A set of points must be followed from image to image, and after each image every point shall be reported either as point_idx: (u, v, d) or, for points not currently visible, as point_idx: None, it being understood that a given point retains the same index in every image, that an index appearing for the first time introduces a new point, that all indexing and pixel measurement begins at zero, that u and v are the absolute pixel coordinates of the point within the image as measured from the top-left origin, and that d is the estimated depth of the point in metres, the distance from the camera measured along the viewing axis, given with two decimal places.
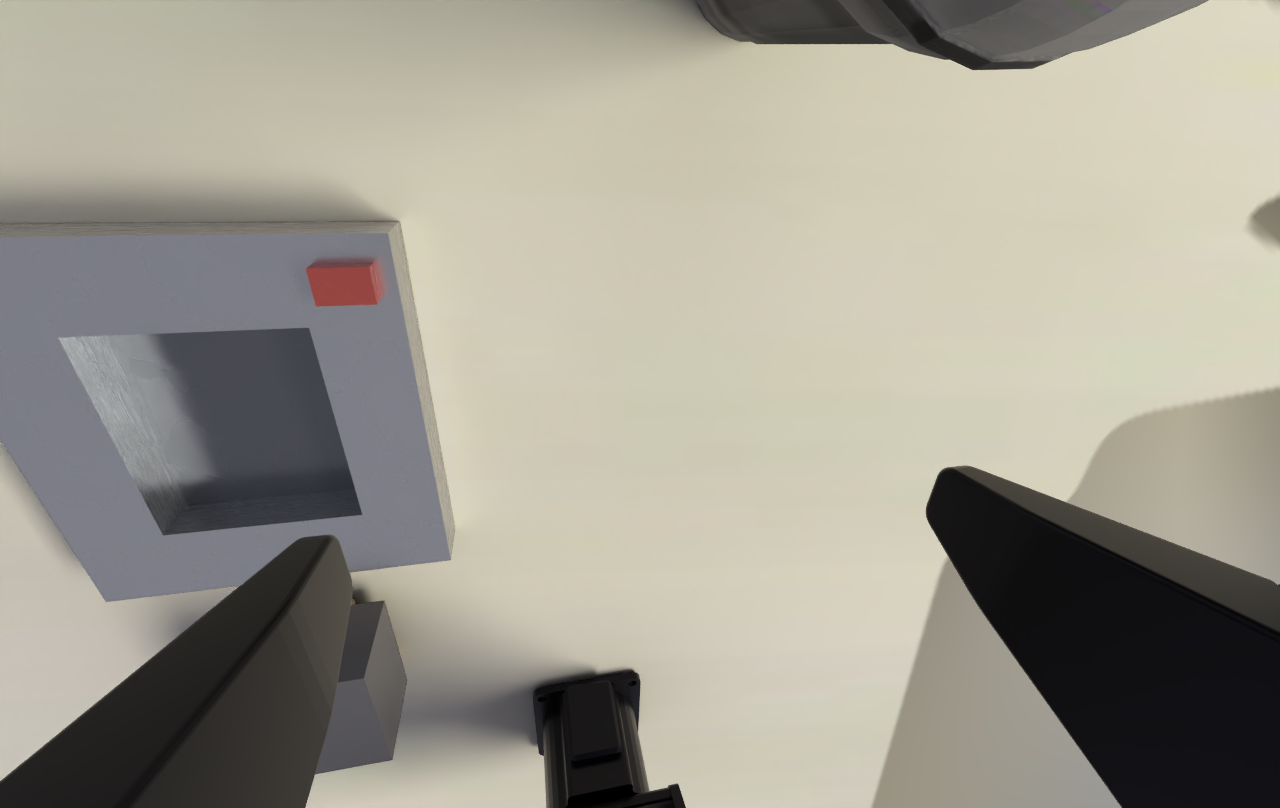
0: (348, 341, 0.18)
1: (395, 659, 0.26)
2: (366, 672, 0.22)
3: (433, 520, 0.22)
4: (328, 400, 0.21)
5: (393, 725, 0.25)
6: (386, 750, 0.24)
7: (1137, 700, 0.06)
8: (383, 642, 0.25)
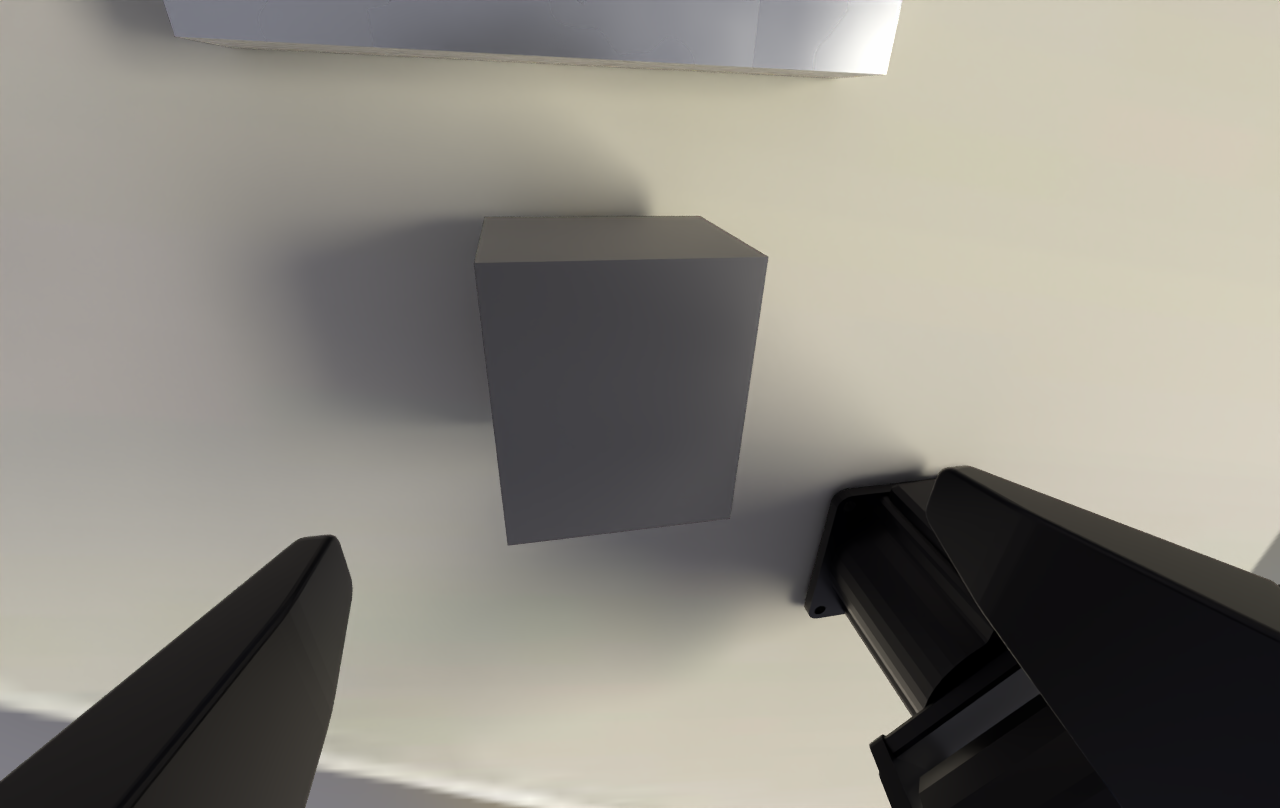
0: None
1: None
2: (760, 256, 0.10)
3: None
4: None
5: None
6: (729, 491, 0.12)
7: (1137, 700, 0.06)
8: None
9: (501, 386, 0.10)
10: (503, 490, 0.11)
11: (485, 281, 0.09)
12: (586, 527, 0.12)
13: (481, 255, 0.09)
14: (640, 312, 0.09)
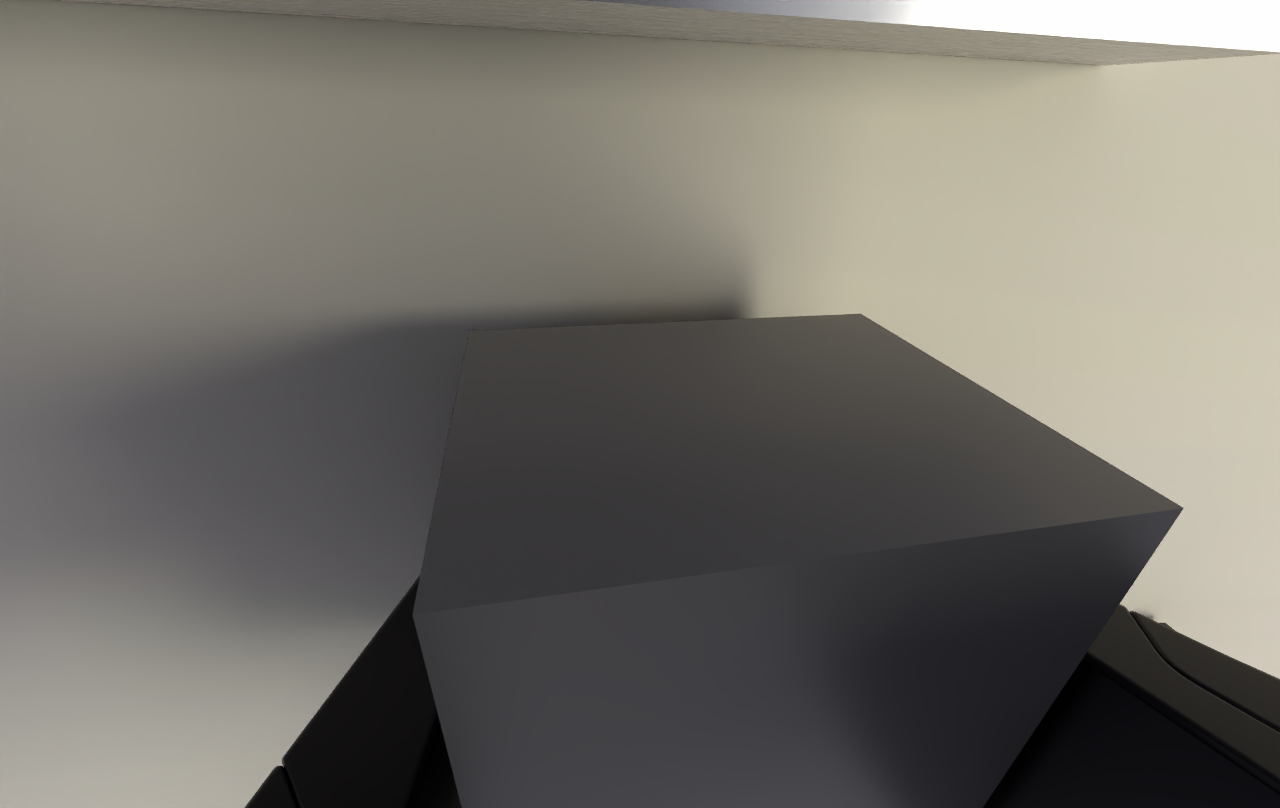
0: None
1: None
2: (1131, 488, 0.04)
3: None
4: None
5: None
6: None
7: None
8: None
9: None
10: None
11: (450, 650, 0.03)
12: None
13: (442, 545, 0.03)
14: (854, 647, 0.04)
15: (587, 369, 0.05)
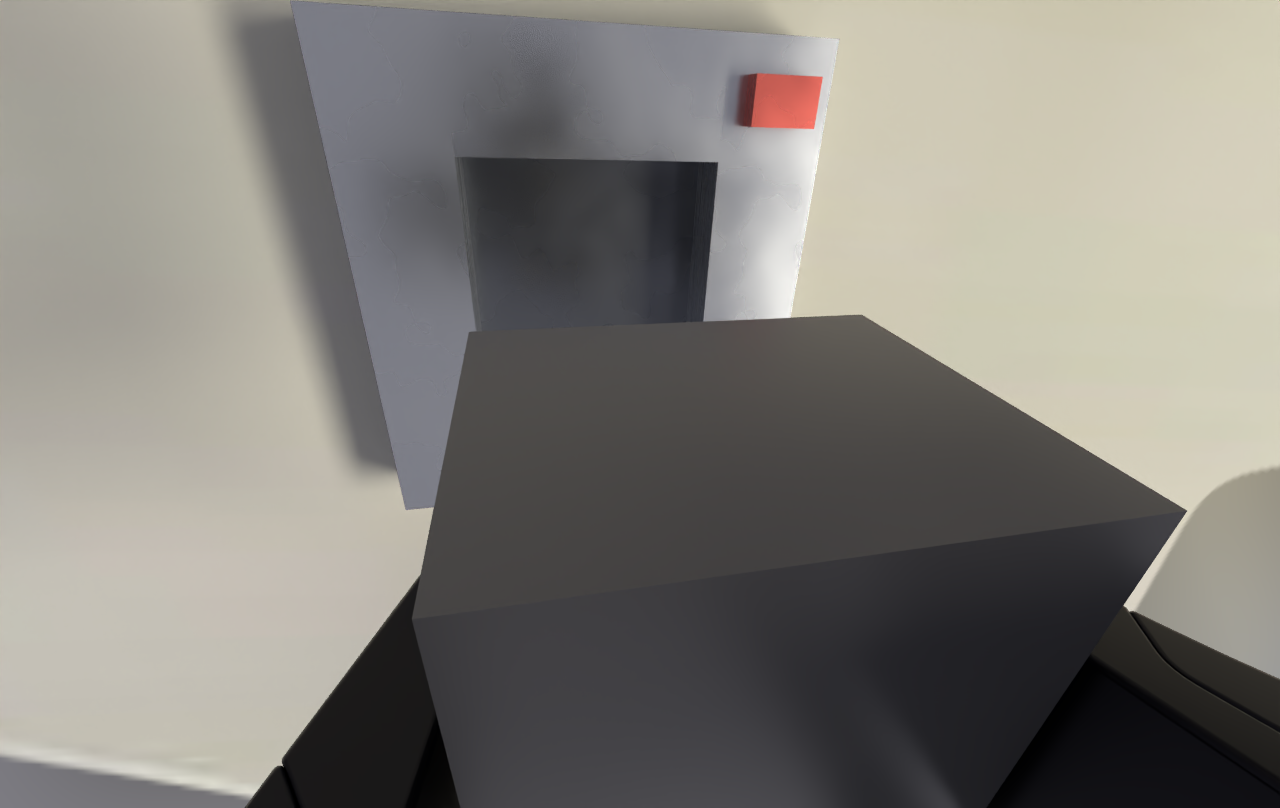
0: (752, 183, 0.15)
1: None
2: (1135, 491, 0.04)
3: None
4: (668, 275, 0.18)
5: None
6: None
7: None
8: None
9: None
10: None
11: (450, 655, 0.03)
12: None
13: (442, 549, 0.03)
14: (857, 652, 0.04)
15: (587, 370, 0.05)
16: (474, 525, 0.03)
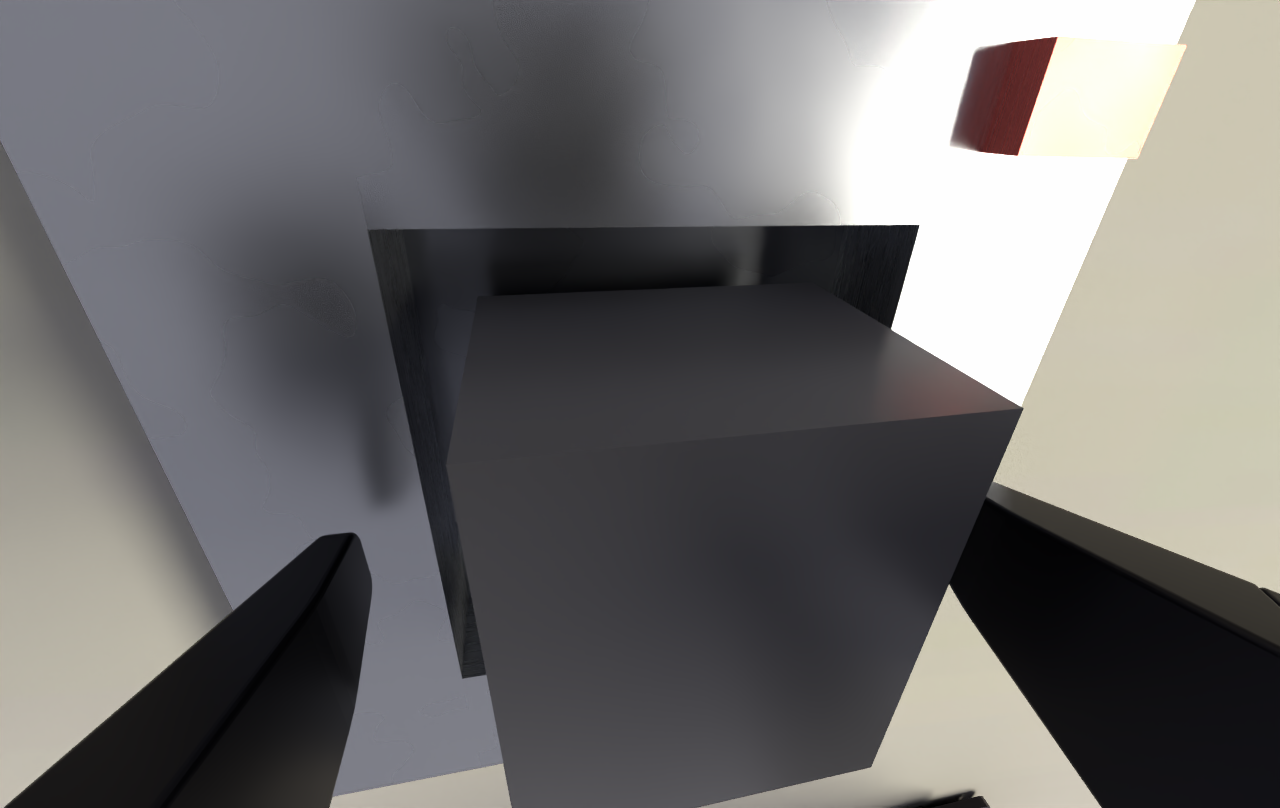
0: (975, 263, 0.08)
1: None
2: (993, 398, 0.05)
3: None
4: None
5: None
6: (877, 737, 0.07)
7: (1119, 704, 0.06)
8: None
9: (505, 654, 0.05)
10: (512, 788, 0.06)
11: (471, 495, 0.04)
12: None
13: (464, 429, 0.04)
14: (774, 517, 0.05)
15: (575, 323, 0.07)
16: (486, 416, 0.05)
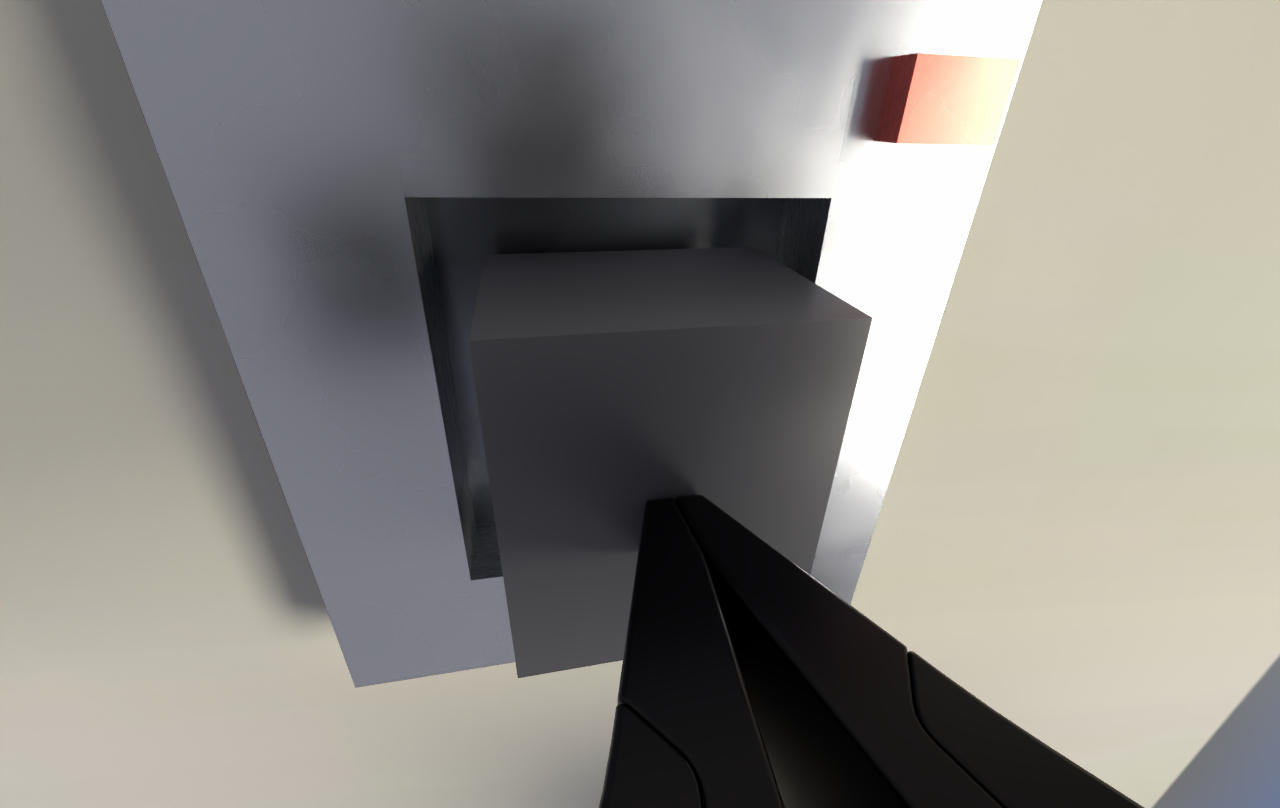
0: (879, 230, 0.10)
1: None
2: (857, 315, 0.07)
3: (855, 549, 0.14)
4: None
5: None
6: None
7: (778, 779, 0.05)
8: None
9: (507, 496, 0.07)
10: (512, 617, 0.08)
11: (485, 364, 0.06)
12: (618, 651, 0.09)
13: (479, 325, 0.06)
14: (697, 395, 0.07)
15: (560, 270, 0.09)
16: (494, 318, 0.07)
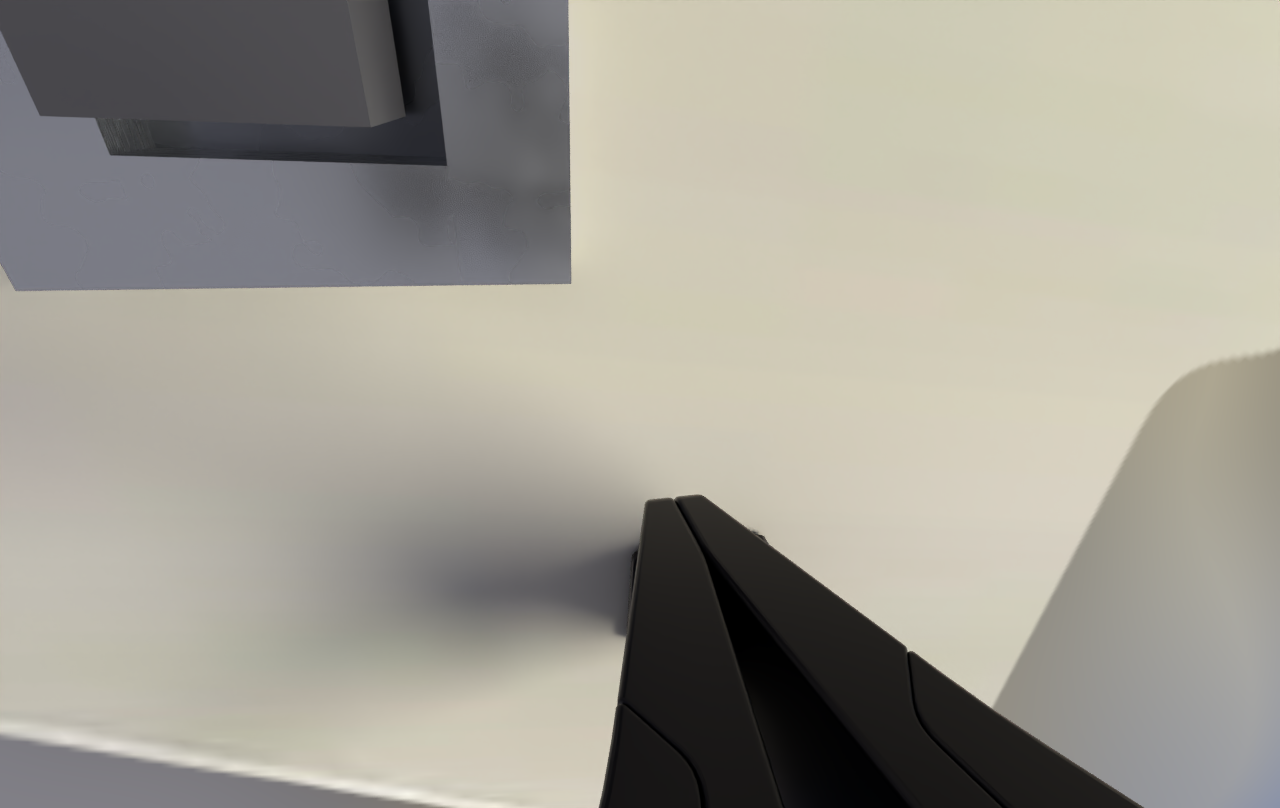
0: None
1: None
2: None
3: (555, 197, 0.14)
4: None
5: (373, 76, 0.10)
6: (354, 75, 0.09)
7: (778, 779, 0.05)
8: None
9: None
10: None
11: None
12: (153, 103, 0.09)
13: None
14: None
15: None
16: None
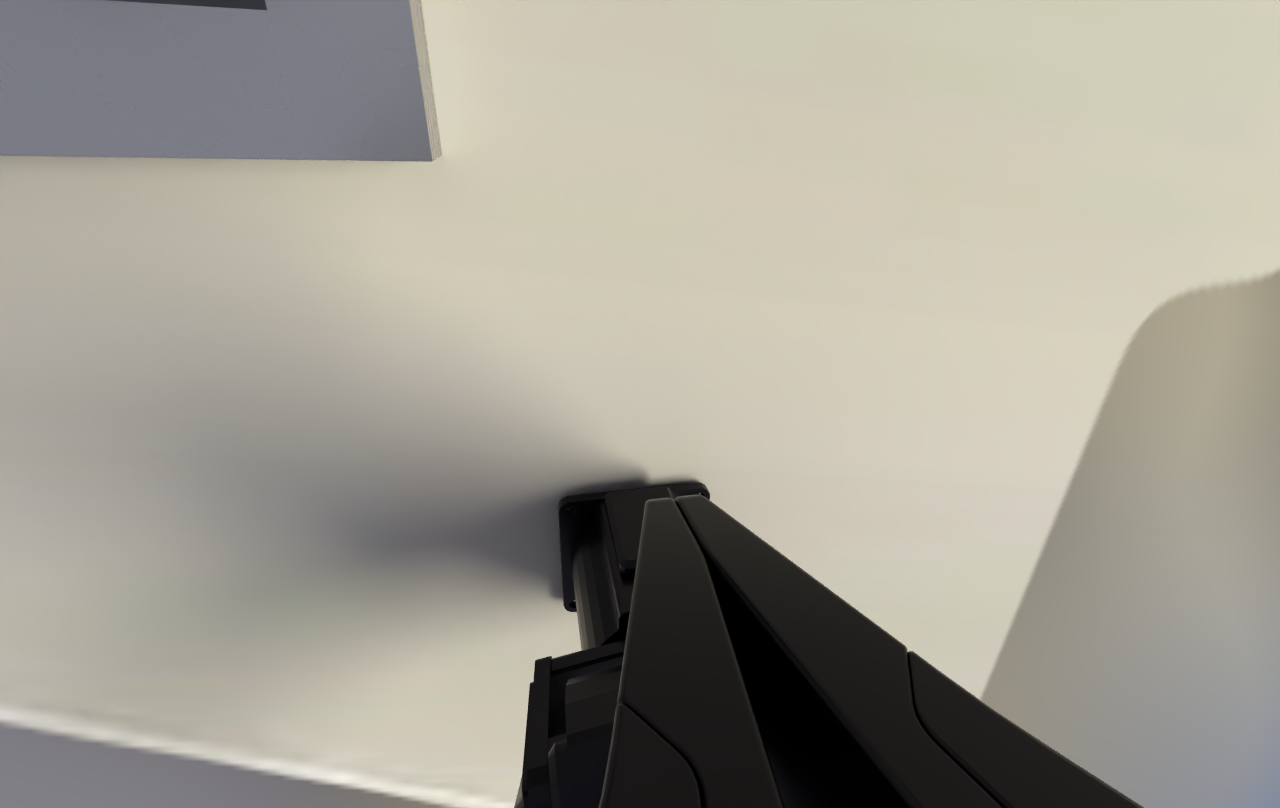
0: None
1: None
2: None
3: (399, 53, 0.13)
4: None
5: None
6: None
7: (778, 779, 0.05)
8: None
9: None
10: None
11: None
12: None
13: None
14: None
15: None
16: None
